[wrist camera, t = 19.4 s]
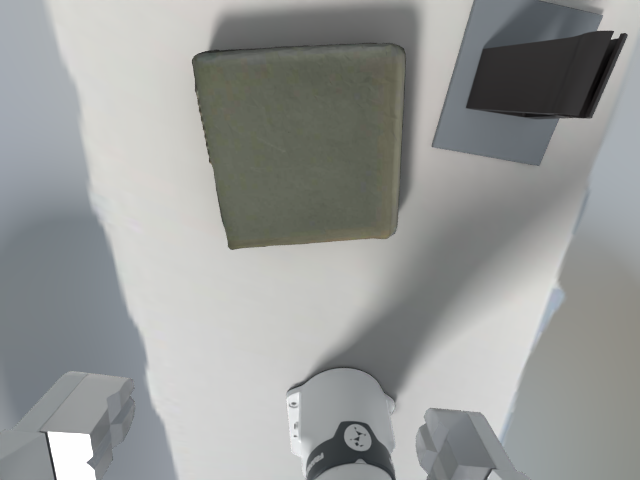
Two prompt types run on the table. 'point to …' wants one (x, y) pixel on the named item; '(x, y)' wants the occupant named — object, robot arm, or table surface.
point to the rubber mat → (481, 32)
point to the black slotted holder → (546, 76)
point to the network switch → (304, 140)
